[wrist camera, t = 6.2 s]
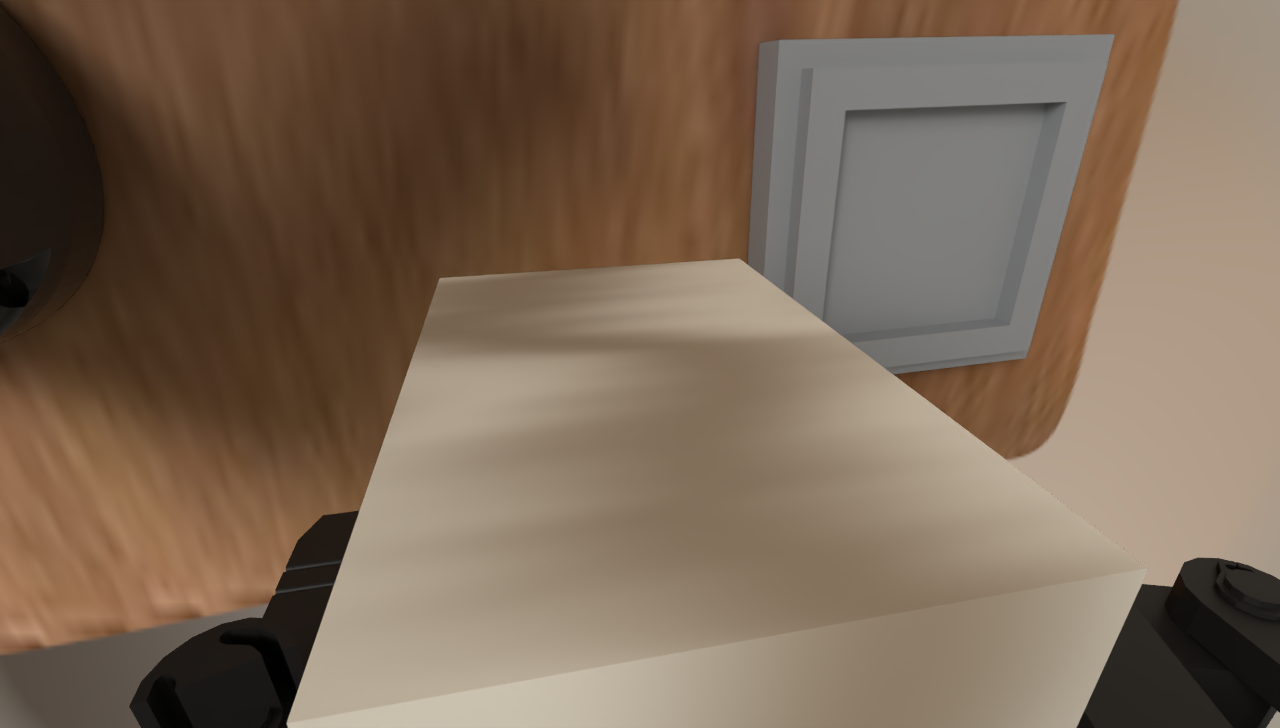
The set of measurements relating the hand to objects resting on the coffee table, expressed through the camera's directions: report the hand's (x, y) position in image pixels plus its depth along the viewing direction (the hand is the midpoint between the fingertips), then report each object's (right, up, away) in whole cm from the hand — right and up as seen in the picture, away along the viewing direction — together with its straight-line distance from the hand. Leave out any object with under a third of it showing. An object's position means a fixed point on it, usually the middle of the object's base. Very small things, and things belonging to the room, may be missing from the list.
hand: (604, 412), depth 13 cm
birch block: (0, 0, 0) cm, 0 cm away
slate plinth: (+13, +8, +16) cm, 22 cm away
